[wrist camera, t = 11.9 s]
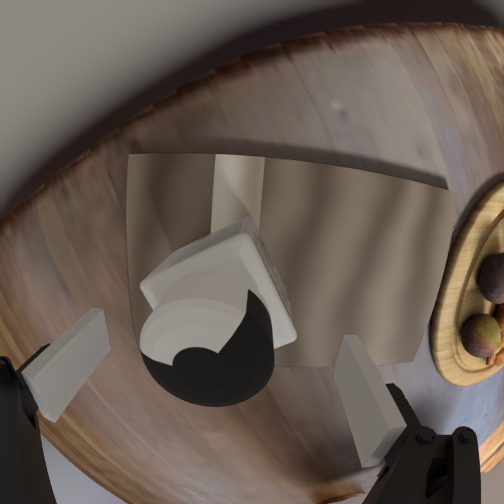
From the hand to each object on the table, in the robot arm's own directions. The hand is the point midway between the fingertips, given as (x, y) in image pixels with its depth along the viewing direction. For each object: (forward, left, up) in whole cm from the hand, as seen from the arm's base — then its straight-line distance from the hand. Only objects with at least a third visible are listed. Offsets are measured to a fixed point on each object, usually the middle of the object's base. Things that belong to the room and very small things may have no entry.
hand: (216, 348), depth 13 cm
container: (0, 0, -11) cm, 11 cm away
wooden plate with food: (-39, +1, -13) cm, 41 cm away
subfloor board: (-6, 0, -12) cm, 14 cm away
